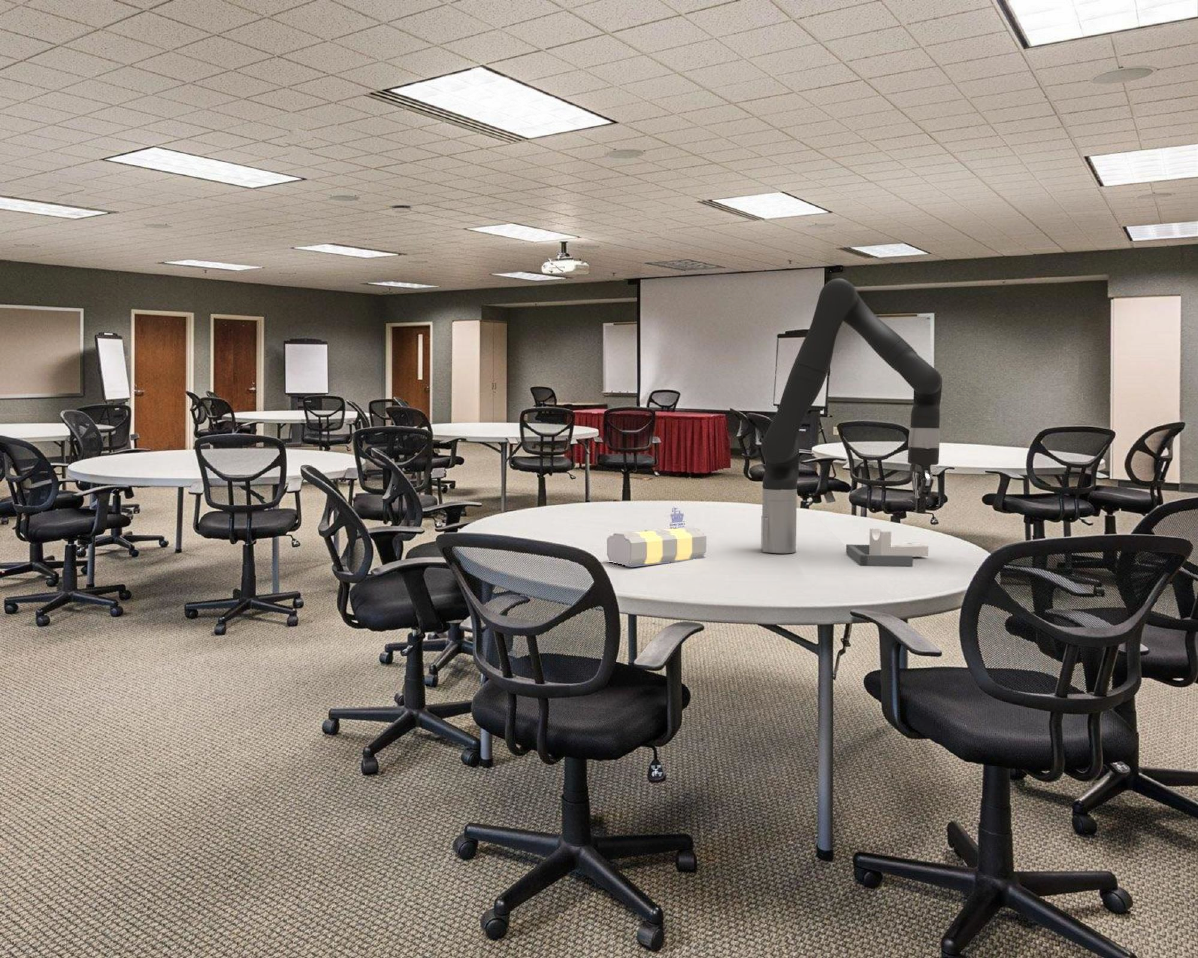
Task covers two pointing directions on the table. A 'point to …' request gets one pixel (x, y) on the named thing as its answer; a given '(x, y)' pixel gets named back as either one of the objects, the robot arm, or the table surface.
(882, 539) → the bracket
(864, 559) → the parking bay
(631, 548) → the grey yellow banded block
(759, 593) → the table surface
